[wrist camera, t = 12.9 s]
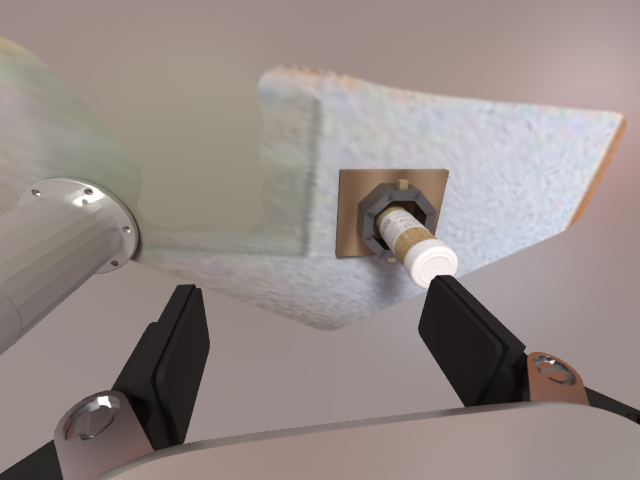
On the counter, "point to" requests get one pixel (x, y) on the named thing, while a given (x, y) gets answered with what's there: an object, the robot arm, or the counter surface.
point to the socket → (380, 200)
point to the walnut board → (365, 180)
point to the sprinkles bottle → (415, 245)
